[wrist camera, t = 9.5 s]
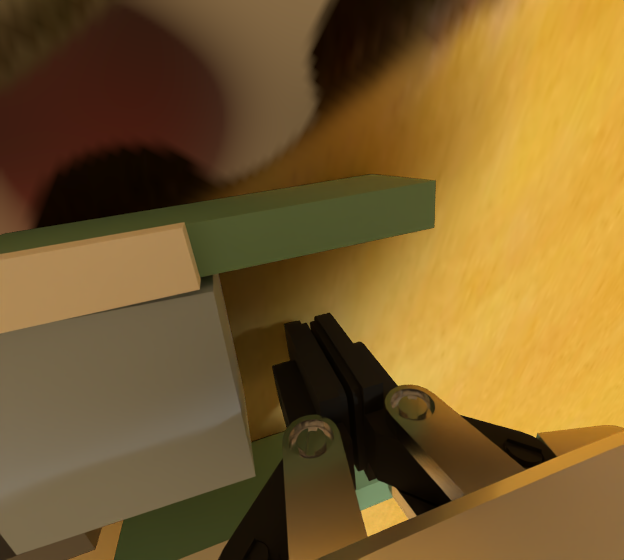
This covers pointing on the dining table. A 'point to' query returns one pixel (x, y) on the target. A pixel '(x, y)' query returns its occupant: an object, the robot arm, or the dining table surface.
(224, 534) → the tunnel
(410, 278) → the dining table surface
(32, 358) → the block
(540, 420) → the dining table surface
